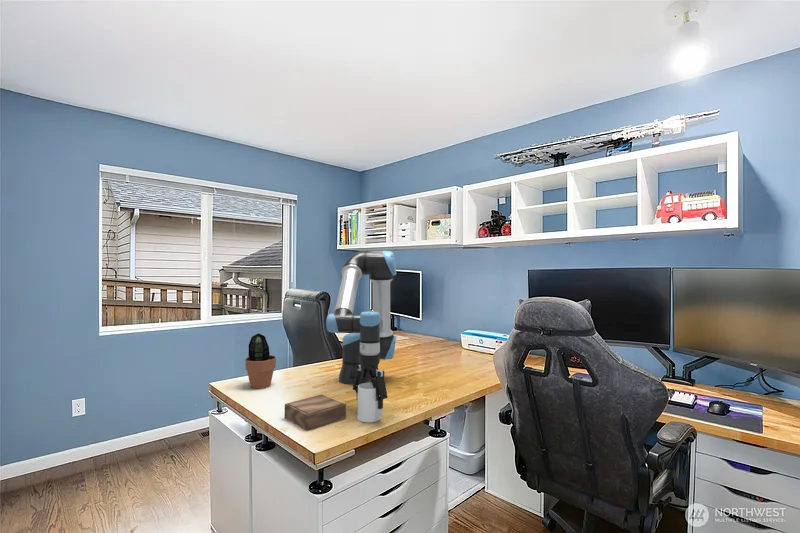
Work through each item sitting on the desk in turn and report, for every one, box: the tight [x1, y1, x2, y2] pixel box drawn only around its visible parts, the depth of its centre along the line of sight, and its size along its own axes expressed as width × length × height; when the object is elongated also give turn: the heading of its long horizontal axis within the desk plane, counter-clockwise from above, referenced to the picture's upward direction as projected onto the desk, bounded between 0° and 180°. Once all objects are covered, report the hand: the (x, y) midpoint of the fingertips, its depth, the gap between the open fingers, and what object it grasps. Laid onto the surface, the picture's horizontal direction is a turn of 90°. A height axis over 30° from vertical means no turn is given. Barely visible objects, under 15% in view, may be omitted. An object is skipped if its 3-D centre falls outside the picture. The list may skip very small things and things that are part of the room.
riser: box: [284, 394, 347, 431], centre depth 142 cm, size 16×16×5 cm
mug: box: [356, 382, 381, 424], centre depth 143 cm, size 12×8×12 cm
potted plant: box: [244, 332, 277, 390], centre depth 180 cm, size 14×14×25 cm
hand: (369, 413), depth 143 cm, fingers closed on mug, 10 cm apart
